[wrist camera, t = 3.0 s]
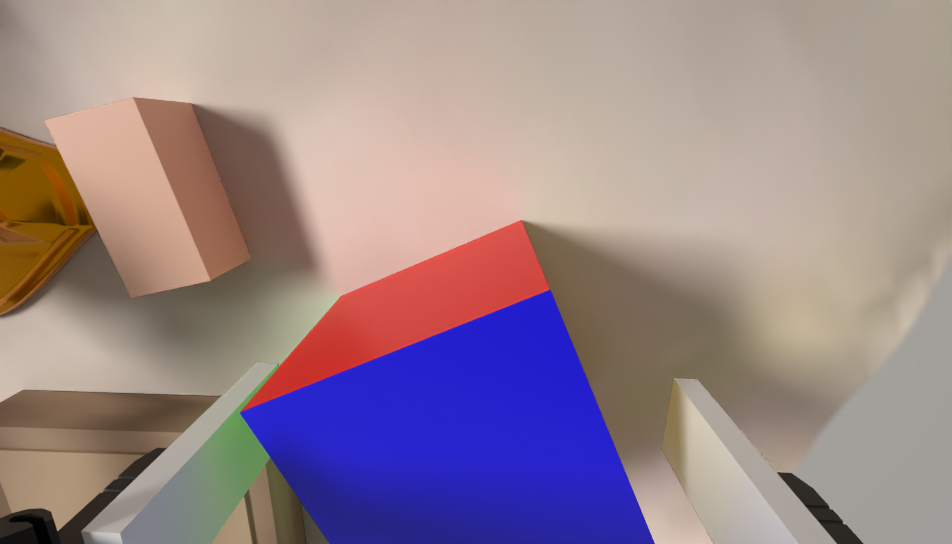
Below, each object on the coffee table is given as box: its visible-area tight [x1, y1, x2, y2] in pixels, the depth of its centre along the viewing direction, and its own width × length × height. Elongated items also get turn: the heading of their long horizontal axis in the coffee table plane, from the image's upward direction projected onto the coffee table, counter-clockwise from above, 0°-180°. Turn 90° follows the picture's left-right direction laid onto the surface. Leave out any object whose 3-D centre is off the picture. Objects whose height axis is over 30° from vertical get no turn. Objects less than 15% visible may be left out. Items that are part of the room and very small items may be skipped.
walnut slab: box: [0, 390, 306, 544], centre depth 20 cm, size 12×12×3 cm
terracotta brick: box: [44, 97, 252, 298], centre depth 16 cm, size 6×3×3 cm, turn 13°
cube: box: [239, 220, 655, 544], centre depth 15 cm, size 8×8×8 cm
